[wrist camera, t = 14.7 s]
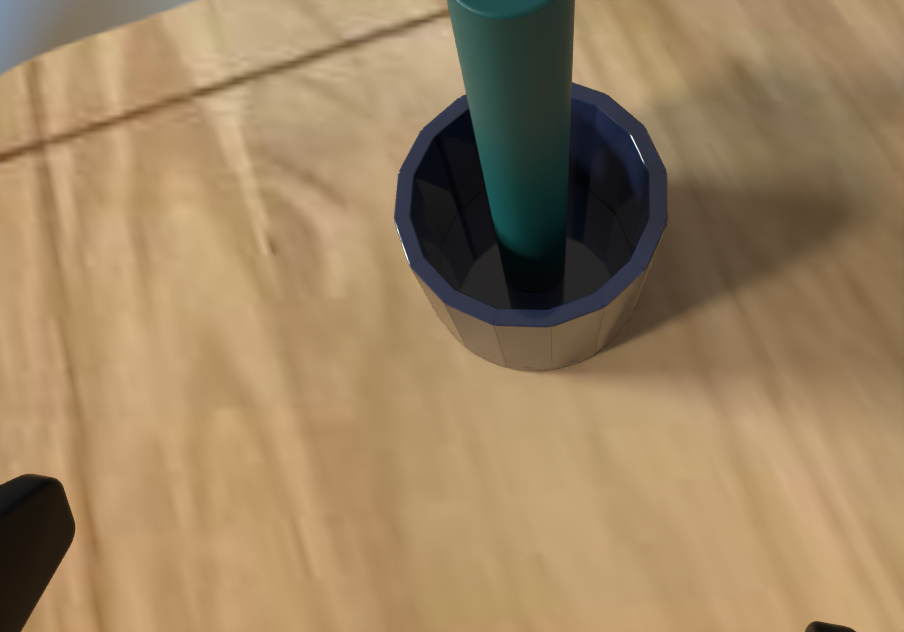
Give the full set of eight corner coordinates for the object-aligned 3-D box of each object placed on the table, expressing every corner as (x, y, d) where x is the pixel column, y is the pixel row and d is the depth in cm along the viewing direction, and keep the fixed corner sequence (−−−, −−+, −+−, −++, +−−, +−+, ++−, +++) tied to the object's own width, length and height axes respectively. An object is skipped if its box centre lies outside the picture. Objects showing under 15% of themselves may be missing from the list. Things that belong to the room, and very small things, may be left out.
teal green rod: (564, 293, 23) (575, 14, 10) (500, 291, 23) (436, 19, 11) (565, 233, 23) (578, -100, 11) (503, 233, 23) (445, -93, 11)
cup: (642, 376, 22) (669, 330, 17) (422, 367, 23) (383, 322, 18) (641, 172, 24) (665, 74, 19) (437, 173, 25) (406, 80, 20)
